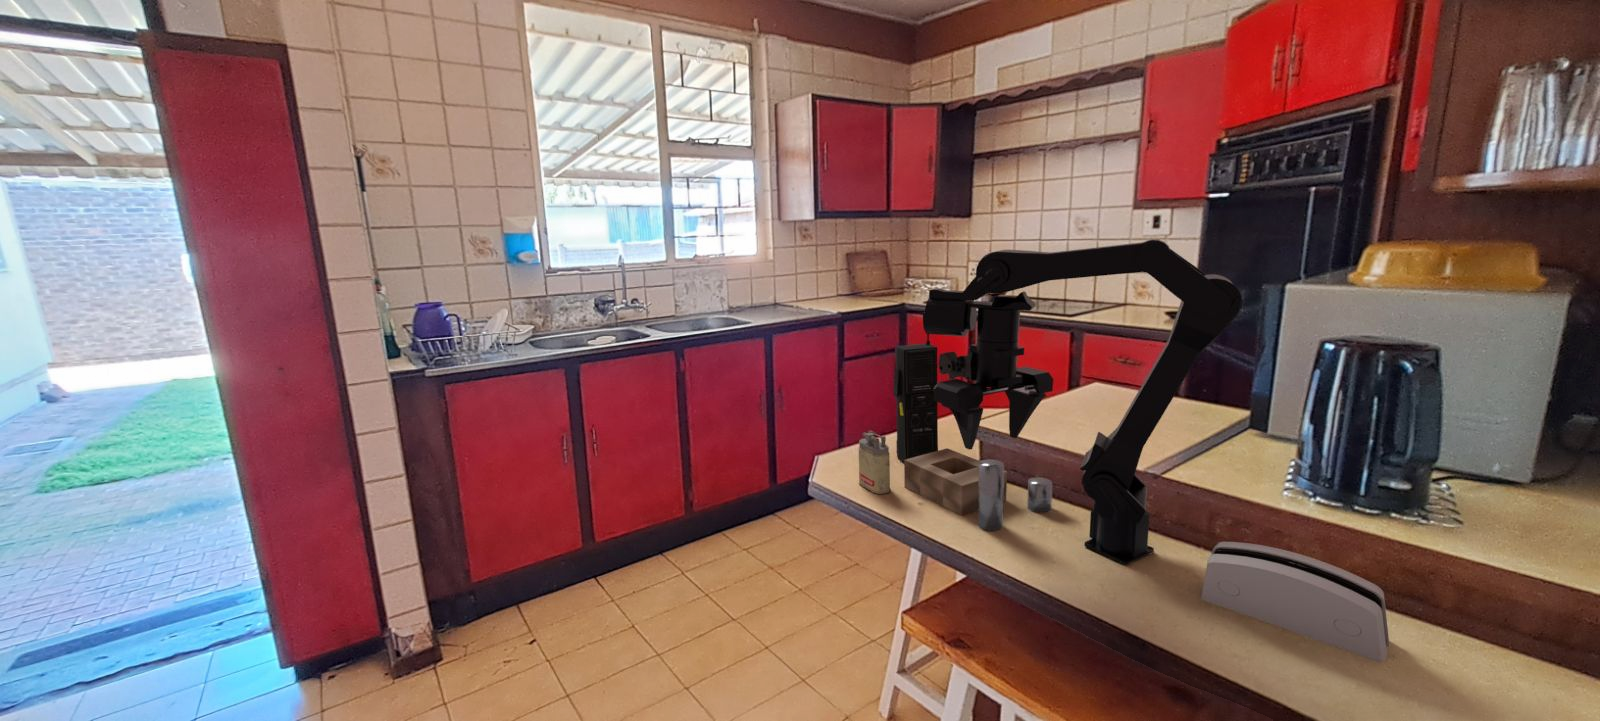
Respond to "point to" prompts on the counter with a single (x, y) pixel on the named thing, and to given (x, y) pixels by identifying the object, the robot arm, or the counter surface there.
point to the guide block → (946, 479)
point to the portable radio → (916, 399)
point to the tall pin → (990, 495)
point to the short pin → (1039, 495)
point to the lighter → (874, 463)
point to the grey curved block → (1299, 596)
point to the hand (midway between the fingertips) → (991, 442)
